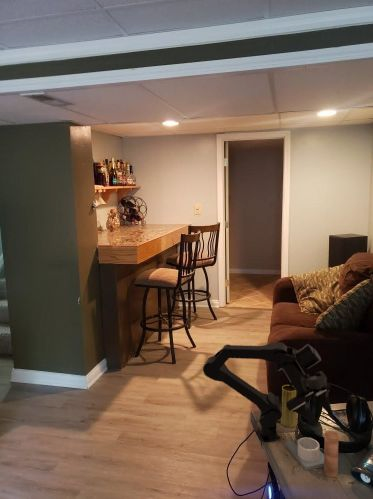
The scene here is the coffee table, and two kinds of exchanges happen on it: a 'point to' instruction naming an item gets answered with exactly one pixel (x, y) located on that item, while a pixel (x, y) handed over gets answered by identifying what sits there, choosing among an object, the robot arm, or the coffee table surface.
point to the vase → (287, 416)
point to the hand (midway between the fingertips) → (324, 419)
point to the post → (331, 454)
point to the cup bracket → (306, 453)
